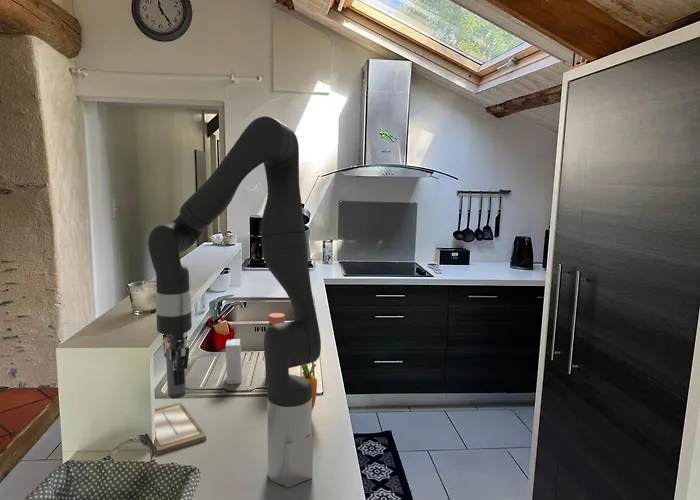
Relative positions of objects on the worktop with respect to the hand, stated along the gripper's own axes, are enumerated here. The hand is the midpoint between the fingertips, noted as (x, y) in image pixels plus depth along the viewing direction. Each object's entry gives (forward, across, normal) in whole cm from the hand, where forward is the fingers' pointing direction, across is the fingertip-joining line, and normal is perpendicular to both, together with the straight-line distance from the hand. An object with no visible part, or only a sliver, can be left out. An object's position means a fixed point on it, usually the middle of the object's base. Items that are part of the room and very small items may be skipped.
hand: (176, 380), depth 113 cm
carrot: (+15, -8, -31) cm, 35 cm away
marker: (+4, 0, 0) cm, 4 cm away
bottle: (+15, +19, -36) cm, 43 cm away
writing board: (+15, +6, 0) cm, 16 cm away
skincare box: (+15, +24, -24) cm, 37 cm away
